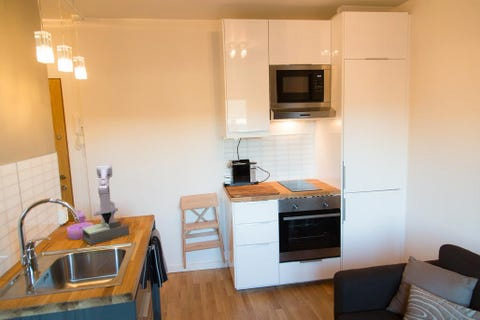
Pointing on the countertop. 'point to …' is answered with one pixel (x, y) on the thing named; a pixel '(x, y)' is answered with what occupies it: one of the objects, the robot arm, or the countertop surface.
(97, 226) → the lid
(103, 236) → the housing
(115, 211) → the robot arm
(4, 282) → the countertop surface
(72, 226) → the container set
